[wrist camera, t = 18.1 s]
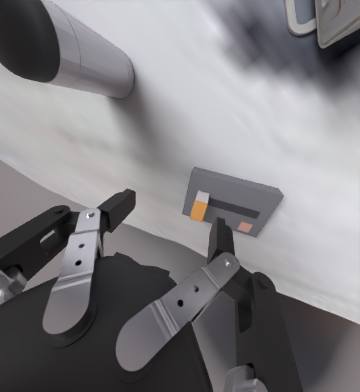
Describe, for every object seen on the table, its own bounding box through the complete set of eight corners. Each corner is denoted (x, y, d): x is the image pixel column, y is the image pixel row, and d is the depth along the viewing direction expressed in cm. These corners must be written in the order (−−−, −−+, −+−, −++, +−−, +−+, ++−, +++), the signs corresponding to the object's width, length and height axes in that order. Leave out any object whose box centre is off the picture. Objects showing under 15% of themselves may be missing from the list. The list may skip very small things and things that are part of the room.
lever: (194, 205, 39) (189, 218, 33) (198, 190, 36) (194, 201, 31) (204, 208, 38) (201, 222, 33) (209, 193, 36) (207, 205, 30)
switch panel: (185, 206, 45) (182, 214, 42) (194, 166, 38) (191, 171, 34) (253, 227, 42) (256, 237, 38) (278, 188, 34) (284, 195, 31)
